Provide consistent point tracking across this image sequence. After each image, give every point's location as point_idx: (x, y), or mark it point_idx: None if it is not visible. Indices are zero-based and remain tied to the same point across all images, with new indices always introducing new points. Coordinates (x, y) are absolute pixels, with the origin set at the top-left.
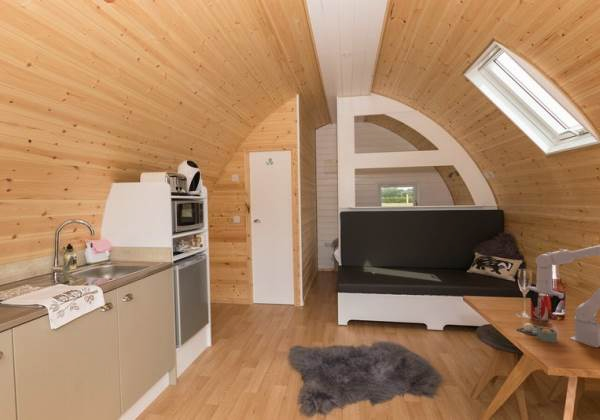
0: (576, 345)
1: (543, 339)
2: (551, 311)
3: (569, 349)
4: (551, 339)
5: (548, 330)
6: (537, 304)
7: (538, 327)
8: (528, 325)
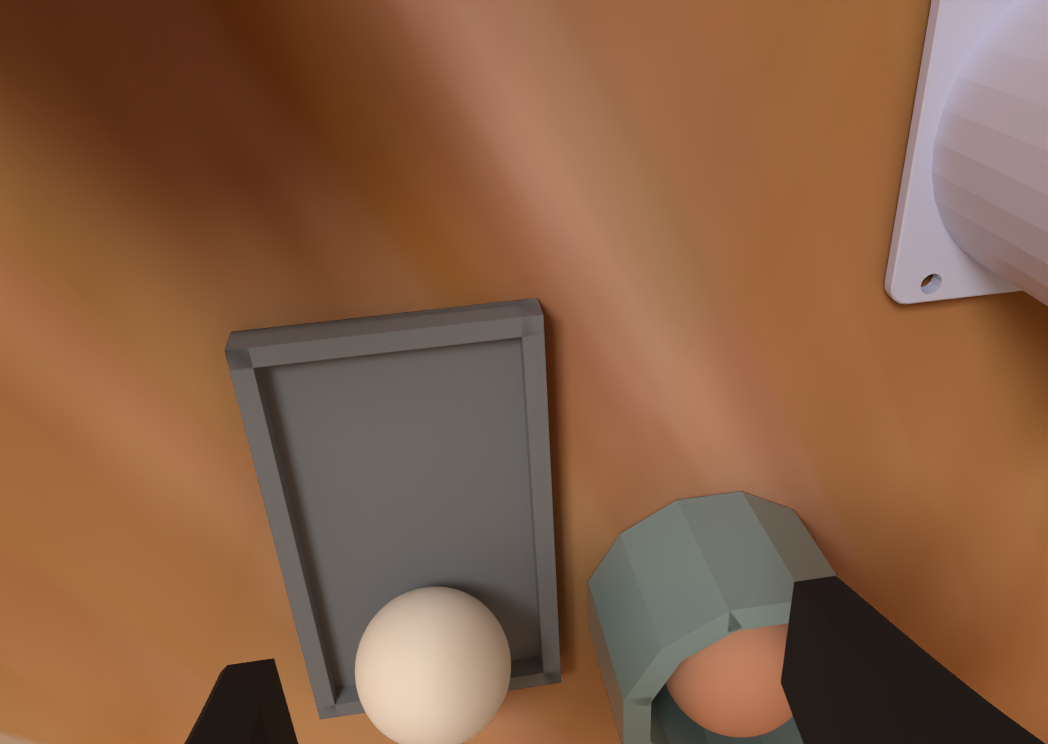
0: (1011, 414)
1: None
2: (799, 712)
3: (988, 589)
4: None
5: (791, 713)
6: (260, 735)
7: (633, 728)
8: (467, 737)
